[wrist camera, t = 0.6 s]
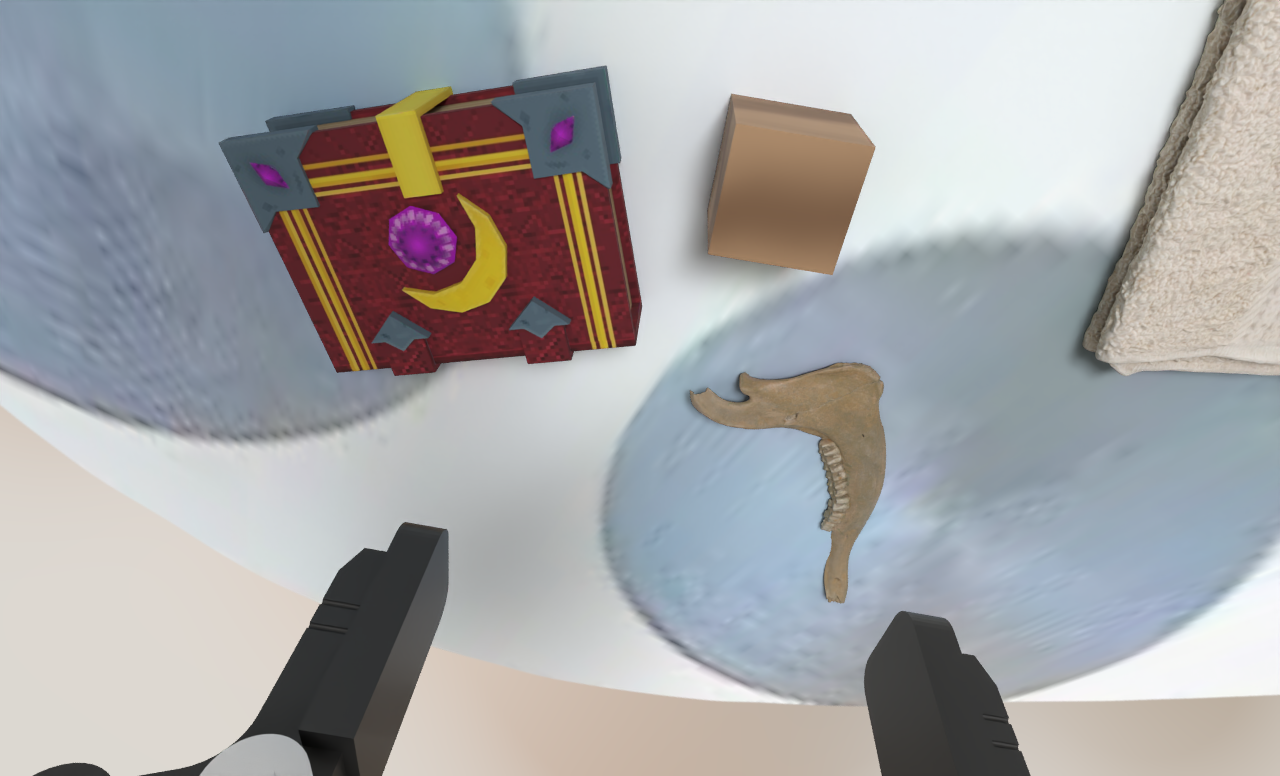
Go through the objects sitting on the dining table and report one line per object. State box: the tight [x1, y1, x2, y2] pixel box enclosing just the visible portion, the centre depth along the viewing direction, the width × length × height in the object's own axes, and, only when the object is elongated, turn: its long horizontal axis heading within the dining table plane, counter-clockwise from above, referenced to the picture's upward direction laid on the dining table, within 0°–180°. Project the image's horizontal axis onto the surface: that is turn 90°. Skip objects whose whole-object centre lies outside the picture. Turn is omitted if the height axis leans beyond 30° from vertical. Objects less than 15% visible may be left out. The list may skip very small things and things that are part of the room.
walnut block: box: [707, 94, 875, 275], centre depth 27 cm, size 5×5×5 cm
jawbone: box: [690, 363, 886, 603], centre depth 39 cm, size 9×20×2 cm, turn 31°
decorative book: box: [219, 66, 642, 376], centre depth 30 cm, size 11×16×5 cm
